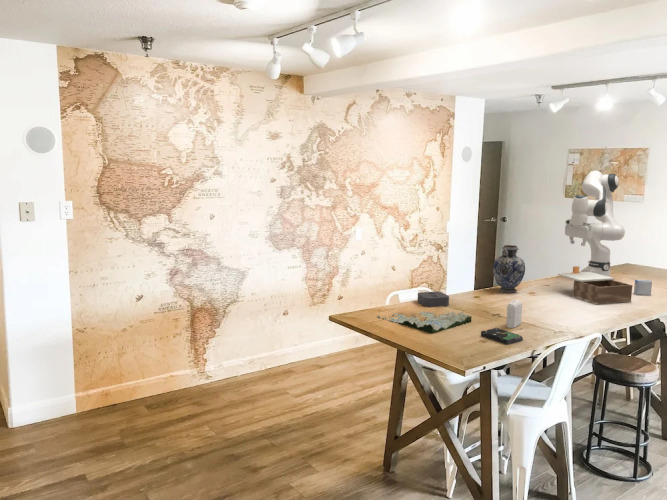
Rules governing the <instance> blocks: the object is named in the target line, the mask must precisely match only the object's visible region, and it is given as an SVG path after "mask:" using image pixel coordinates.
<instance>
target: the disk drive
mask: <svg viewBox="0 0 667 500" xmlns="http://www.w3.org/2000/svg"><path fill="white" fill-rule="evenodd" d="M480 337H483V338H485V339H489V340H491V341H495V342H498V343H501V344H503V345H507V346H508V345H513V344H516V343H519V342H522V341H523V340H524V339H523V336H522V335H520V334H517V333H514V332H510V331H507V330H505V329H501V328H497V327H495V328H491V329H486V330H481V332H480Z"/></svg>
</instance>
